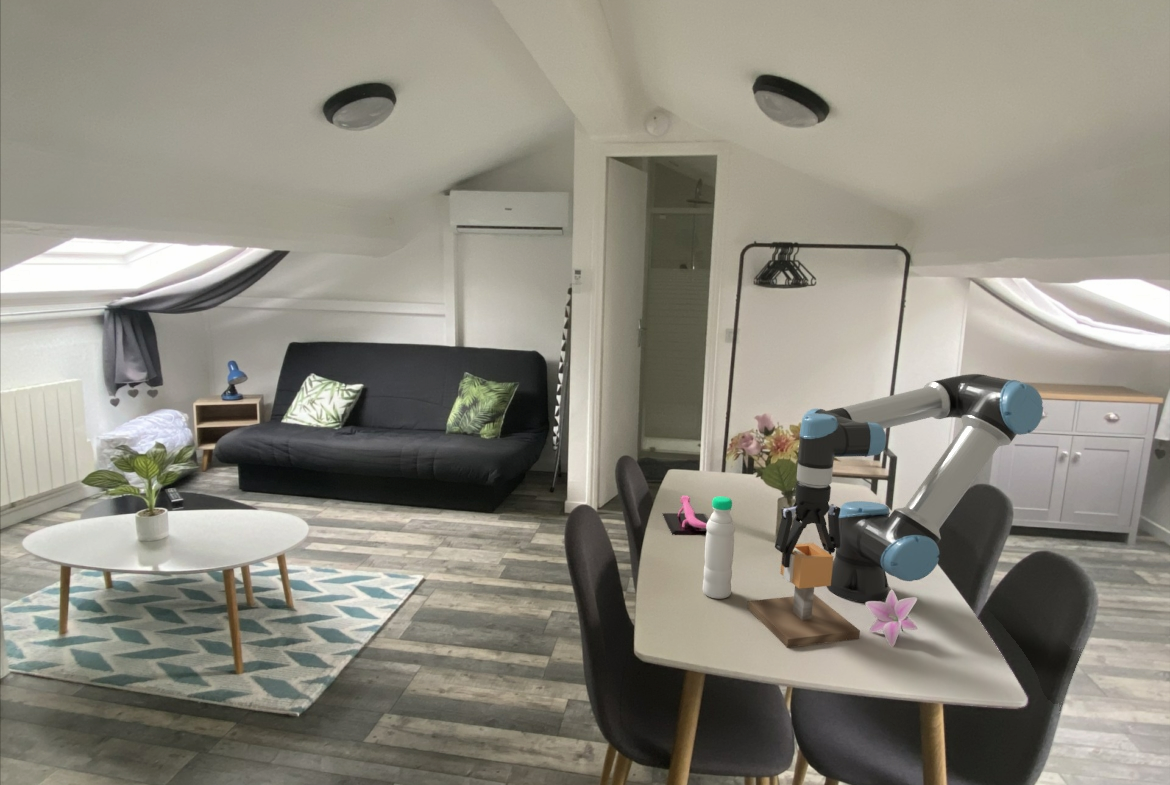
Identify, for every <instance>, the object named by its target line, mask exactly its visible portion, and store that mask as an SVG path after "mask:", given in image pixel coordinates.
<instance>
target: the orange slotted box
mask: <svg viewBox="0 0 1170 785" xmlns="http://www.w3.org/2000/svg"><path fill="white" fill-rule="evenodd" d="M822 548H823V547H821V546H819V545H817V544H816V543H814V542H808V543H807V542H805V543H796V545H795V548H794V550H793V552H792V553H793V554H794V555H795V558H794V570H793V581H792V582H790V583H791V584H793V585H794V587H795V586H796V587H798V588H799V589H801V588H812V587H814V588H820V587H826V586H831V577H832V567H833V561H834V555H832V553H831V554H829V553H828V552H826V551H825V550H823V549H824V548H823V549H822ZM783 574H784V566H783V565H782V560H781V563H780V575H781V576H783Z"/></svg>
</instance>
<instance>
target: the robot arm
mask: <svg viewBox="0 0 1170 785" xmlns="http://www.w3.org/2000/svg"><path fill="white" fill-rule="evenodd" d="M1043 414H1044V406H1043V398H1042V396H1041V394H1040V392H1039V391H1038V389H1036V388H1035V387H1034V386H1033V385H1031V384H1029V383H1026V382H1021V381H1019V380H1017V379H1016V380H1015V379H1008V378H1007V379H1006V378H1002V377H996V376H990V375H986V374H979V373H968V374H962V375H957V376H952V377H947V378H942V379H938V380H937V379H936V380H934V381H930V382H928V383H926V384H925V385H924V387H922V388H918V389H913V390H909V391H905V392H901V393H898V394H893V395H889V396H885V397H880V398H876V399H871V400H868V401H864V402H858V403H855V404H850V405H847V406H843V407H837V408H832V409H829V410H826V409H822V408H812V409H810V410H808V411H806V413H805V414H804V415H803V416H802V419H801V425H800V430H799V434H798V435H799V442H798V455H797V456H798V457H797V470H796V480H797V481H796V482H795V490H794V499H795V501H794V504H793V506H791V507H788V508H787V507H786V506H782V508H781V518H780V519H781V520H780V523H779V528H778V532H777V536H776V539H775V543H774V548H775V549H776V550H777V551H778V552H780V553H781V561H782V565H783V566H784V574H783V575H782V578H783V579H784V580H786V582H788V583H791V582H792V581H793V570H794V558H795V555H794V554H793V553H792V552H793V550H794V548H795V545H796V544H798V541H799V539H800V537H801V535H802V533H803V530H804V529H806V528H807V526H808V525H810V524H815V527H816V530H817V533H818V537H819V539H820V543H821V545H822V547H821V548H822V549H823V550H825V551H826V552H828V553H829V554H831V555H832V554H833V553H835V555H834V557H833V567H832V577H831V586H825V587H826V588H827V589H828V590H829V591H830V592H831V593H833V594H834V595H836V596H838V597H841V598H844V599H846V600H850V601H856V602H859V603H860V602H862V603H866V602H868V601H880V602H883V601H884V600H886V598H887V596H888V594H889V591H890V590H889V588H890V586H889V583H888V582H889V581H888V577H887V574H888V575H890V576H891V577H892V576H893V577H894V578H897V579H899V580H901V581H905V582H914V581H920V580H922V579H924V578H926V577H927V576H929V574H931V573H933V571H934V570H935V568H936V567H937V566H938V563H939V560H940V558H939V555H940V549H939V546H938V544H939V542H940V541H941V540H942V537H941V533H940V528H941V527H942V526H943V524H944V523H945V521H946V520H947V519H948V517H949V516H950V515H951V513H952V512H953V511H954V509H955V507H956V506H957V505H958V504H959V503H960V501H961V500H962V498H963V496H964V495H965V494H966V492H967V491H968V490H969V489H970V487H971V486H972V484H973V483H974V482H975V480H976V479H977V477H978V475H980V473H981V472H982V471H983V469H984V468H985V466H986V465H987V463H988V462H989V461H990V459H991V458H992V457H993V456H994V454H995V453H996V452H997V450H998V449H999V447H1002V446H1009V445H1010V444H1011V443H1012V441H1013V440H1014V439H1015V438H1016V436H1017V435H1021V436H1022V435H1027V434H1030V433H1032V432H1034V431H1035V430H1036V429H1037V427H1039V425H1040V424H1041V420H1042V418H1043ZM929 418H930V419H931V418H933V419H936V420H944V419H947V418H957V419H961V423H962V428H961V429H960V430H959V432H958V433H957V434H956V436H955V437H954V438H953V440H952V441H951V443H950V444H949V446H948V447H947V448H946V449H945V451H944V452H943V453H942V455H941V456H940V457H939V459H938V460H937V462H936V464H934V466H933V467H932V468H931V470H930V472H929V473H928V474H927V476H926V478H924V480H923V481H922V482H921V484H920V485H919V487H918V488H917V490H916V491H915V493H914V494H913V495H912V497H911V498H910V499H909V501H908V502H907V504H906V505H905V506H903V507H899V508H895V509H894V510H893V511H892V513H891V512H890V506H888V505H886V504H883V503H880V502H873V501H865V500H864V501H863V500H862V501H860V500H857V501H847V502H844V503H843V504H841V505H840V507H839V506H837V505H836V504H834V503H831V504H829V502H830V500H831V492H832V487H831V485H832V483H833V473H834V472H833V471H834V469H833V468H834V461H835V458H845V457H846V458H849V457H864V458H866V457H871V456H878V455H880V454H882V453H883V451H884V450H885V447H886V444H887V443H886V442H887V435H886V431H885V429H888V428H889V429H890V428H892V427H896V426H899V425H900V426H901V425H905V424H908V423H913V422H918V421H921V420H926V419H929ZM826 515H827V521H826V518H825V516H826ZM827 523H828V526H827ZM827 527H828V528H827ZM886 573H887V574H886Z"/></svg>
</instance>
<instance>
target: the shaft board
mask: <svg viewBox="0 0 1170 785" xmlns="http://www.w3.org/2000/svg"><path fill="white" fill-rule="evenodd" d="M814 593H815V587H812V588H801V589H799V588H798V587H796V586H795V585H794V593H793V596H783V597H774V598H765V599H755V600H754V599H753V600H748V601H747V610H749V612H751V614H753V616H755V617H756V618H757V620H759V622H760V623H761V624H763V625H764V626H765V627H766V628H767V629H768V631H770V632H771V633H772V634H773V636H775V637H776V638H777V640H779V641H780V642H781V644H783V645H784V646H785V647H786V648H794V647H795V648H797V647H804V646H812V645H814V646H815V645H821V644H829V643H835V642H836V643H837V642H844V641H846V642H847V641H852V640H853V641H855V640H859V639H860V638H861V637H860V634H861V630H860V629H859V628H858V627H856V626H855V625H854V624H853V623H851V622H850V621H849V620H848V619H847V618H845V617H844V616H843V615H841V614H840V613H839V612H838V611H836V610H835V609H834V608H832V606H830V605H829V604H827V603H826V602H825V601H823V599H821V598H820V597H819V596H817V595H816V594H814Z"/></svg>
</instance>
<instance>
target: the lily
mask: <svg viewBox="0 0 1170 785" xmlns="http://www.w3.org/2000/svg"><path fill="white" fill-rule="evenodd" d="M917 601H918V597H916V596H913V597H905V598H902V599H899V600H898V597H897V596H896V593H895V591H894V590H893V589H890V590H889V591H888V596H887V598H886V599H885V602H884V601H868V602H865V606H866V608H867V609H868V610H869V612H870V613H871V614H872V616H873V617H874V618H876V620H875V621H874V622H873V623H872V625H871V627H870V628H869V633H877V632H881V631H883V633H884V636H885V639H886V641H887V643H888V644H889V646H890V647H894V646H895V644H896V642H897V639H898V636H899V634H900V631H901V632H904V630H907V631H908V630H909V631H910V630H911V631H917V630H918V626H917V625H916V624H915V623H914V621H913V620H912V619H911V618H910V617H909V616H908V615H909V613H910V612H911V611H912V609H913V607H914V606H915V604H916V603H917Z"/></svg>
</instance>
